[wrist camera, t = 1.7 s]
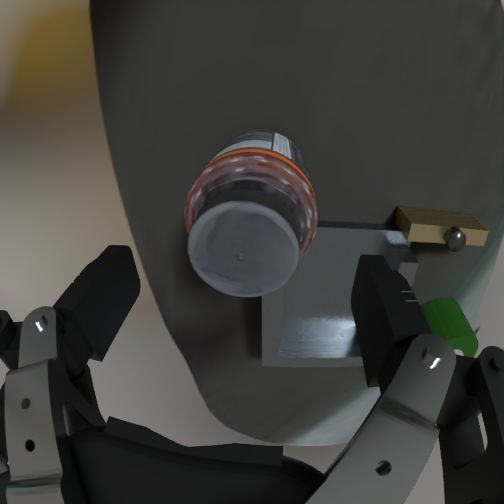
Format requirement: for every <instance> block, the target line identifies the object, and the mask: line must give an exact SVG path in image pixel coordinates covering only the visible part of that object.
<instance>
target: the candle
mask: <svg viewBox="0 0 504 504" xmlns="http://www.w3.org/2000/svg"><path fill="white" fill-rule="evenodd" d="M420 307H421V309H422V312H423V314H424V316H425V318H426V320H427V323H428V325H429V327H430V329H431V332H432V334H434V335H438V336H440V337H442V338H444V339H445V340H446V341H447V342H448V343H449V344H450V345H451V346H452V348H453V349H454V351H455V354H457V355H462V356H467V357H474V355H475V353H476V352H477V349H478V340H477V338H476V336H475V334H474V332H473V330H472V328H471V326H470V324H469V322H468V321H467V319H466V317H465V315H464V313H463V311H462V310H461V308H460V306H459V304H458V303H457V302H456V301H455V300H453V299H450V298H439V299H434V300H431V301H429V302H427V303H425V304H423V305H421V306H420Z"/></svg>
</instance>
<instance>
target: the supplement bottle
mask: <svg viewBox="0 0 504 504" xmlns="http://www.w3.org/2000/svg"><path fill="white" fill-rule="evenodd" d="M185 223H186V228H187V231H188V234H189V237H188V247H187V250H188V255H189V259H190V262H191V264H192V266H193V268H194V270H195V271H196V272H197V274H198V275H199V276H200V277H201V278H202V280H203V281H204V282H206V283H207V284H208V285H210V286H211V287H213V288H215V289H216V290H218V291H220V292H222V293H225V294H228V295H231V296H237V297H258V296H263V295H267V294H269V293H272V292H274V291H276V290H278V289H279V288H281V287H282V286H283V285H284V284H285V283H287V282H288V281H289V279H290V278H291V277H292V276H293V274H294V272H295V270H296V268H297V266H298V261H299V259H300V258H301V257H302V256H303V255H304V254H305V253H306V251H307V250H308V249H309V247H310V246H311V244H312V242H313V239H314V237H315V234H316V231H317V225H318V209H317V202H316V198H315V193H314V191H313V188H312V185H311V182H310V178H309V175H308V173H307V169H306V166H305V162H304V160H303V157H302V155H301V153H300V151H299V150H298V148H297V147H296V146H295V144H294V143H293V142H292V141H291V140H289V139H288V138H287V137H285V136H284V135H282V134H280V133H277V132H275V131H272V130H266V129H256V130H250V131H247V132H244V133H242V134H240V135H238V136H237V137H235V138H234V139H233V140H231V141H230V142H229V143H228V144H227V145H226V146H225V147H224V148H223V149H222V150H221V151H220V152H219V153H218V154H217V155H216V156H215V157H214V158H213V159H212V160H211V161H210V162H209V163H208V164H207V165H206V167H205V168H204V169H203V170H202V171H201V173H200V174H199V175H198V176H197V178H196V179H195V180H194V182H193V184H192V186H191V188H190V190H189V192H188V195H187V198H186V203H185Z"/></svg>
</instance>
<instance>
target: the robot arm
mask: <svg viewBox="0 0 504 504" xmlns="http://www.w3.org/2000/svg"><path fill="white" fill-rule="evenodd" d="M139 293H140V279H139V275H138V272H137V268H136V265H135V261H134V258H133V254H132V251H131V248H130V247H129V246H124V245H109V246H108V247H107V248H106V249H105V250H104V251H103V252H102V253H101V254H100V256H99V257H98V258H97V259H95V260H94V261H92V262H91V263H89V264H88V265H87V266H86V267H85V268H84V270H82V272H81V273H80V276H79V275H78V276H77V277H76V279H75V280H74V283H71V284H70V286H69V287H68V288H67V289H66V290H65V292H64V293H63V294H62V295H61V297H60V298H59V299H58V300H57V302H56V303H55V304H54V306H53V307H48V306H45V307H40V308H37V309H35V310H33V311H32V312H31V313H30V314H28V316H27V317H26V318H25V320H24V321H23V322H13V320H12V319H11V317H10V315H9V314H8V312H7V311H5V310H0V358H1V360H2V361H3V362H4V364H6V366H7V367H8V368H9V370H10V371H8V372H7V373H6V377H5V382H4V384H3V386H2V388H1V390H0V504H404V502H405V500H406V499H407V497H408V496H409V494H410V492H411V490H412V489H413V487H414V485H415V483H416V482H417V480H418V478H419V476H420V474H421V472H422V470H423V468H424V467H425V465H426V463H427V461H428V458H429V457H430V454H431V452H432V450H433V448H434V445H435V443H436V441H437V438H438V437H439V444H440V451H441V459H442V467H443V479H444V494H445V504H504V350H502V349H500V348H499V347H495V346H489V347H486V348H485V349H483V351H482V352H481V353H480V355H479V356H478V358H473V357H467V356H462V355H457V354H455V351H454V349H453V348H452V346H451V345H450V344H449V343H448V342H447V341H446V340H445V339H444V338H442V337H440V336H438V335H434V334H432V332H431V329H430V327H429V325H428V323H427V320H426V318H425V316H424V314H423V312H422V309H421V307H420V305H419V303H418V302H417V301H416V300H417V299H416V297H415V295H414V293H412V289H411V287H410V285H409V283H408V281H407V279H405V278H404V277H403V276H402V275H401V274H400V273H399V272H398V271H397V270H391V269H390V267H389V265H388V263H387V261H386V259H385V257H384V256H383V255H370V254H362V255H361V256H360V258H359V261H358V266H357V270H356V275H355V279H354V283H353V288H352V292H351V309H352V314H353V318H354V322H355V327H356V331H357V336H358V340H359V345H360V350H361V355H362V360H363V365H364V370H365V376H366V381H367V387H380V392H381V395H380V396H379V398H378V399H377V401H376V403H375V404H374V406H373V408H372V409H371V411H370V412H369V414H368V415H367V417H366V418H365V420H364V421H363V423H362V424H361V426H360V427H359V429H358V430H357V432H356V433H355V434H354V436H353V437H352V439H351V440H350V441H349V443H348V444H347V445H346V447H345V448H344V449H343V450H342V452H341V453H340V454H339V455H338V457H337V458H336V459H335V460H334V462H333V463H332V464H331V465H330V466H329V468H328V469H327V470H326V471H325V472H324V474H323V473H321V472H320V471H318V470H317V469H315V468H314V467H312V466H310V465H308V464H306V463H304V462H302V461H299V460H297V459H294V458H291V457H287V456H283V446H265V445H250V444H239V443H232V444H223V445H213V446H212V445H211V446H196V447H187V446H183V445H180V444H178V443H176V442H174V441H172V440H170V439H168V438H166V437H164V436H162V435H160V434H158V433H156V432H154V431H152V430H150V429H149V428H147V427H144V426H140V425H137V424H133V423H130V422H126V421H123V420H120V419H117V418H114V417H111V416H109V418H108V420H107V423H106V422H105V421H104V419H103V417H102V415H101V413H100V411H99V408H98V404H97V400H96V396H95V391H94V387H93V383H92V378H91V373H90V368H89V366H88V365H87V362H88V360H89V358H90V359H93V360H97V361H101V362H102V361H103V359H104V357H105V355H106V353H107V351H108V349H109V347H110V345H111V344H112V342H113V340H114V338H115V336H116V334H117V333H118V331H119V329H120V327H121V325H122V323H123V322H124V320H125V318H126V317H127V315H128V313H129V311H130V310H131V308H132V306H133V304H134V303H135V301H136V299H137V297H138V296H139ZM480 413H482V417H483V421H484V425H485V430H486V434H487V440H488V443H487V448H486V450H484V444H483V439H482V434H481V430H480V425H479V421H478V417H477V416H478V415H479V414H480ZM435 423H436V425H437V426H435ZM8 461H9V464H7V462H8Z"/></svg>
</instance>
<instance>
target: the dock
mask: <svg viewBox="0 0 504 504" xmlns="http://www.w3.org/2000/svg"><path fill="white" fill-rule="evenodd" d="M410 244H411V241H407V240H406V238H405V237H404V235H403V234H402V233H401V231H400V230H399V228H398V227H397V225H382V224H366V223H348V222H327V221H318V225H317V231H316V234H315V237H314V239H313V242H312V244H311V246H310V247H309V249H308V250H307V251H306V253H305V254H304V255H303V256H302V257H301V258H300V259H299V261H298V266H297V268H296V270H295V272H294V274H293V276H292V277H291V278H290V279H289V281H288V282H287V283H285V284H284V285H283V286H282V287H281V288H279V289H278V290H276V291H274V292H272V293H269V294H267V295H263V296H262V366H278V367H351V366H364V365H363V360H362V355H361V350H360V345H359V340H358V336H357V331H356V327H355V322H354V318H353V314H352V309H351V292H352V288H353V283H354V279H355V275H356V270H357V266H358V261H359V258H360V256H361V255H362V254H370V255H383V256H384V257H385V259H386V261H387V263H388V265H389V267H390V269H391V270H397V271H398V272H399V273H400V274H401V275H402V276H403V277H404V278H405V279H407V281H408V283H409V285H410V287H411V285H412V282H413V279H414V277H415V274H416V271H417V268H418V265H419V262H418V260H417V259H416V257H415V256H414V254H413V252H412V251H411V249H410V248H409V247H410Z"/></svg>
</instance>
